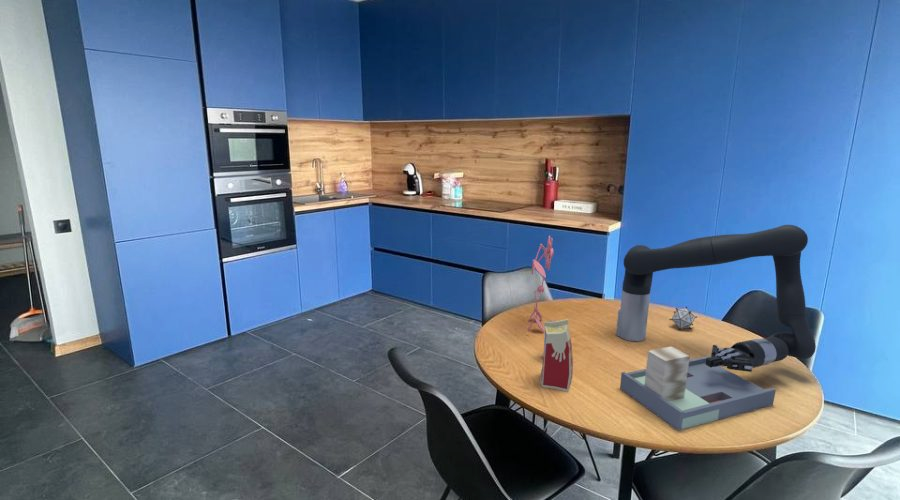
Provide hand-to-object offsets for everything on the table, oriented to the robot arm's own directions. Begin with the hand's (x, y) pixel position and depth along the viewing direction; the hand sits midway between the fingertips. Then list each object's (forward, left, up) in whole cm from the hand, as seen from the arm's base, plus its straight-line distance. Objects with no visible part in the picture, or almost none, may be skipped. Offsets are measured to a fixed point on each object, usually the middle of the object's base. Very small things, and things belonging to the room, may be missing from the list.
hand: (708, 362), depth 127 cm
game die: (-17, +46, -10) cm, 50 cm away
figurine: (-57, +14, -10) cm, 60 cm away
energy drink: (-43, -8, -10) cm, 45 cm away
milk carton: (-35, -21, -10) cm, 42 cm away
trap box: (-2, -3, -9) cm, 10 cm away
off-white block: (-7, -13, -6) cm, 16 cm away
